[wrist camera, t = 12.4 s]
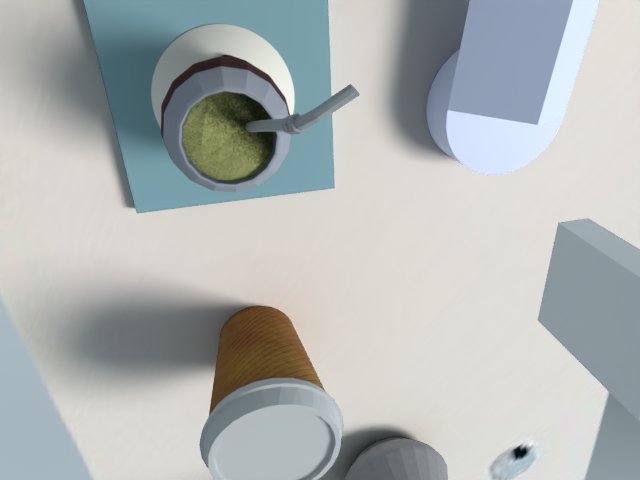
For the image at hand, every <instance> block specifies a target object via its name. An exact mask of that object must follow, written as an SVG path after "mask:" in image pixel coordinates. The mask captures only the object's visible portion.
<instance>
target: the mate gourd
mask: <svg viewBox="0 0 640 480" xmlns="http://www.w3.org/2000/svg"><path fill="white" fill-rule="evenodd" d="M359 95H360V94H359V93H358V91H357V90H356V89H355V88H354V87H353V86H352V85H351V84H350V85H348V86H347V87H345V88H344V89H343V90H341V91H340V92H338V93H337V94H335V95H334V96H332V97H331V98H329V99H328V100H326V101H325V102H323V103H322V104H320V105H319V106H317V107H316V108H314V109H313V110H311V111H309V112H307V113H305V114H304V115H301V114H299V113H297V114H294V115H290V113H289V109H288V105H287V101H286V98H285V96H284V95H283V93H282V92H281V91H280V89H279V88H278V87H277V85H276V84H275V82H274V81H273V80H272V78H271V77H270V76H269V75H268V74H267V73H265V72H263V71H262V70H260V69H259V68H257V67H255V66H254V65H252V64H251V63H249V62H247V61H246V60H243V59H240V58H237V57H234V56H232V55H222V56H219V57H216V58H212V59H209V60H205V61H201V62H198V63H194V64H193V65H192V66H190V67H189V68H188V69H187V70H186V71H184V72H183V73H182V74H181V75H179V76H178V77H177V78H176V79H175V80H173V82H172V84H171V86H170V88H169V90H168V92H167V94H166V96H165V98H164V100H163V102H162V105H161V136H162V138H163V141H164V143H165V146H166V148H167V151H168V153H169V156H170V158H171V159H172V162H173V163H174V164H175V165H176V166H177V167H178V168H179V169H180V170H181V172H182V173H183V174H184V175H185V176H186V177H187V178H188V179H189V180H190V181H193V182H195V183H197V184H199V185H201V186H203V187H205V188H208V189H210V190H212V191H222V192H240V191H243V190H246V189H250V188H253V187H256V186H259V185H260V184H262V183H263V182H264V181H265V180H267V179H268V178H269V177H271V176H272V175H273V174H275V173H276V172H277V171H278V169H279V167H280V165H281V164H282V162H283V160H284V159H285V157H286V155H287V153H288V152H289V145H290V138H291V135H293V134H300V133H302V132H304V131H305V130H306V129H307V128H308V127H310V126H311V125H313V124H315V123H317V122H319V121H321V120H322V119H324V118H325V117H327V116H328V115H330V114H331V113H333V112H335V111H336V110H338V109H339V108H341V107H342V106H344V105H345V104H347V103H348V102H350V101H351V100H353V99H354V98H356V97H357V96H359Z"/></svg>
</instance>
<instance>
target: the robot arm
mask: <svg viewBox="0 0 640 480" xmlns="http://www.w3.org/2000/svg"><path fill="white" fill-rule="evenodd" d="M538 321H539V322H540V323H541V324H542V325H543V326H544V327H545V328H546V329H547V330H548V331H549V332H550V333H551V334H552V335H553V336H554V337H555V338H556V339H557V340H558V341H559V342H560V343H561V344H562V345H563V346H564V347H565V348H566V349H567V350H568V351H569V352H570V353H571V354H572V355H573V356H574V357H575V358H576V359H577V360H578V361H579V362H580V363H581V364H582V365H583V366H584V367H585V368H586V369H587V370H588V371H589V372H590V373H591V374H592V375H593V376H594V377H595V378H596V379H597V380H598V381H599V382H600V383H601V384H602V385H603V386H604V387H605V388H606V389H607V390H608V391H609V392H610V393H611V394H612V395H613V396H614V397H615V398H616V399H617V400H618V401H619V402H620V403H621V404H622V405H623V406H624V407H625V408H626V409H627V410H629V412H630V413H631V414H632V415H633V416H634V417H635V418H636V419H637V420H638V421H639V422H640V249H638V248H636V247H635V246H633V245H631V244H630V243H628V242H626V241H625V240H623V239H621V238H620V237H618V236H616V235H615V234H613V233H612V232H610V231H608V230H607V229H605V228H603V227H602V226H600V225H598V224H597V223H595V222H593V221H592V220H590V219H588V218H587V219H581V220H574V221H567V222H561V223H558V227H557V232H556V236H555V241H554V246H553V251H552V255H551V260H550V265H549V269H548V274H547V279H546V284H545V288H544V293H543V298H542V302H541V307H540V312H539V317H538Z"/></svg>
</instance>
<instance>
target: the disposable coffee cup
mask: <svg viewBox="0 0 640 480" xmlns="http://www.w3.org/2000/svg"><path fill="white" fill-rule="evenodd" d="M343 427H344V424H343V416H342V413H341V410H340V409H339V407H338V405H337V404H336V402H335V400H334V399H333V398H331V397H330V396H329V395H328V394H327V393H326V392H325V390H324V388H323V385H322V384H321V382H320V379H319V378H318V376H317V373H316V372H315V370H314V367H313V366H312V363H311V361H310V359H309V357H308V356H307V353H306V351H305V349H304V347H303V346H302V343H301V341H300V339H299V337H298V335H297V333H296V331H295V329H294V327H293V325H292V322H291V321H290V319H289V318H288V317H287V316H286V315H285V314H284V313H283V312H281V311H279V310H277V309H274V308H271V307H263V306H258V307H252V308H247V309H245V310H242V311H240V312H238V313H236V314H235V315H233V316H232V317H231V318H230V319H229V320H228V321H227V322H226V323H225V325H224V327H223V328H222V331H221V334H220V342H219V349H218V356H217V363H216V370H215V377H214V384H213V391H212V398H211V405H210V413H209V418H208V419H207V421H206V423H205V426H204V428H203V430H202V434H201V439H200V450H201V456H202V459H203V461H204V462H205V464H206V466H207V467H208V468H209V470H210V473H211V475H212V477H213V480H318V479H319V478H321V477H322V476H323V475H324V474H325V473H326V472H327V471H328V470H329V469H330V468H331V467H332V465H333V464H334V462H335V460H336V458H337V457H338V455H339V451H340V447H341V437H342V433H343Z"/></svg>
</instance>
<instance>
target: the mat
mask: <svg viewBox="0 0 640 480" xmlns="http://www.w3.org/2000/svg"><path fill="white" fill-rule="evenodd" d="M83 1H84V5H85V9H86V13H87V17H88V21H89V25H90V29H91V33H92V37H93V41H94V45H95V49H96V53H97V57H98V61H99V65H100V69H101V73H102V77H103V81H104V85H105V89H106V93H107V97H108V101H109V105H110V109H111V113H112V117H113V121H114V124H115V128H116V132H117V136H118V140H119V144H120V148H121V152H122V156H123V160H124V164H125V168H126V172H127V176H128V180H129V184H130V188H131V192H132V196H133V200H134V204H135V208H136V212H137V213H144V212H151V211H159V210H167V209H175V208H183V207H191V206H198V205H206V204H214V203H222V202H230V201H238V200H245V199H253V198H261V197H269V196H277V195H285V194H292V193H300V192H308V191H316V190H324V189H332V188H335V187H334V159H333V130H332V113H331V114H330V115H328V116H327V117H325V118H324V119H322V120H321V121H319V122H317V123H315V124H313V125H311V126H310V127H308V128H307V129H306V130H305V131H304V132H302V133H300V134H293V135H291V138H290V145H289V152H288V153H287V155H286V157H285V159H284V160H283V162H282V164H281V165H280V167H279V169H278V171H277V172H276V173H275V174H273V175H272V176H271V177H269V178H268V179H267V180H265V181H264V182H263V183H262V184H260V185H259V186H256V187H253V188H250V189H246V190H243V191H240V192H222V191H212V190H210V189H208V188H205V187H203V186H201V185H199V184H197V183H195V182H193V181H190V180H189V179H188V178H187V177H186V176H185V175H184V174H183V173H182V172H181V170H180V169H179V168H178V167H177V166H176V165H175V164H174V163H173V162H172V159H171V158H170V156H169V153H168V151H167V148H166V146H165V143H164V141H163V138H162V136H161V105H162V102H163V100H164V98H165V96H166V94H167V92H168V90H169V88H170V86H171V84H172V82H173V80H175V79H176V78H177V77H178V76H179V75H181V74H182V73H183V72H184V71H186V70H187V69H188V68H189V67H190V66H192V65H193V64H194V63H198V62H201V61H205V60H209V59H212V58H216V57H219V56H222V55H232V56H234V57H237V58H240V59H243V60H246V61H247V62H249V63H251V64H252V65H254V66H255V67H257V68H259V69H260V70H262V71H263V72H265V73H267V74H268V75H269V76H270V77H271V78H272V80H273V81H274V82H275V84H276V85H277V87H278V88H279V89H280V91H281V92H282V93H283V95H284V96H285V98H286V101H287V105H288V109H289V113H290V115H294V114H297V113H299V114H301V115H304V114H305V113H307V112H309V111H311V110H313V109H314V108H316V107H317V106H319V105H320V104H322V103H323V102H325V101H326V100H328V99H329V98H331V73H330V45H329V16H328V0H83Z"/></svg>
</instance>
